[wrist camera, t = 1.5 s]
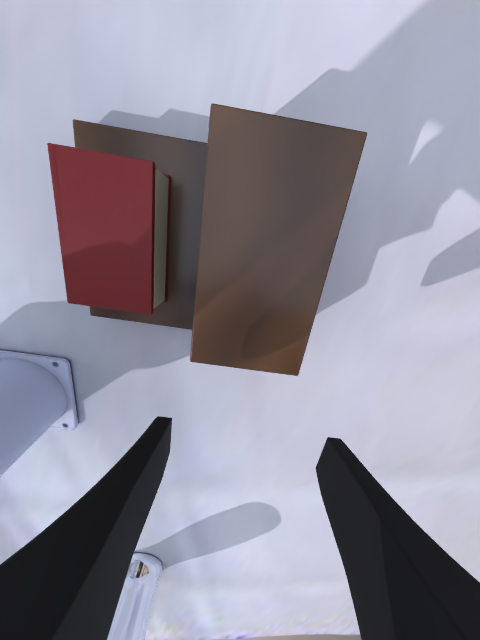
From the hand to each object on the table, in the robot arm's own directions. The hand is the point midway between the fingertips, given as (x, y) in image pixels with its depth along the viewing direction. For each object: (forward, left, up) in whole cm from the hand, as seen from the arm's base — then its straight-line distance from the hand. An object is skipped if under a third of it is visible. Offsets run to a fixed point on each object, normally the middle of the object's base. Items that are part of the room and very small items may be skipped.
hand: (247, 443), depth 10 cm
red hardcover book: (-9, +8, -8) cm, 14 cm away
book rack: (-5, +8, -10) cm, 13 cm away
